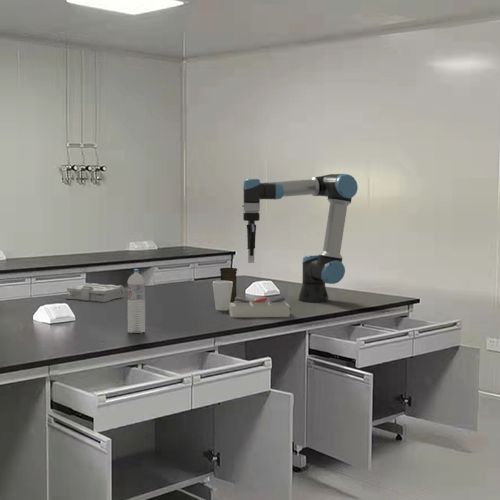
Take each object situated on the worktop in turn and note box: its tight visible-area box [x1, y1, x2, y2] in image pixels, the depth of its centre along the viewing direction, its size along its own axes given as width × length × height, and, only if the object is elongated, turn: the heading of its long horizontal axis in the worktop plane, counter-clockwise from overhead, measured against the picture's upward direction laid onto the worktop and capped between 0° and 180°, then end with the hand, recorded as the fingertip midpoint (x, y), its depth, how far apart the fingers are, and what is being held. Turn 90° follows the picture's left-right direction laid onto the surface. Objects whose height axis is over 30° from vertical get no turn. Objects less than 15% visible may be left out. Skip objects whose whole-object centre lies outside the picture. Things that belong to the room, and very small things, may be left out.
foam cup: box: [212, 280, 233, 311], centre depth 357 cm, size 10×9×13 cm
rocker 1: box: [235, 296, 250, 303], centre depth 339 cm, size 6×4×1 cm, turn 98°
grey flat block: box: [66, 282, 125, 303], centre depth 389 cm, size 19×28×8 cm
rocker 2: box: [252, 296, 268, 303], centre depth 340 cm, size 6×4×1 cm, turn 97°
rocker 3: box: [269, 295, 286, 303], centre depth 341 cm, size 6×4×1 cm, turn 97°
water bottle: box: [127, 268, 146, 334], centre depth 299 cm, size 7×7×25 cm
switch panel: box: [228, 300, 292, 318], centre depth 343 cm, size 27×10×6 cm, turn 97°
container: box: [219, 267, 238, 303], centre depth 369 cm, size 9×9×18 cm
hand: (251, 262), depth 356 cm, fingers closed
